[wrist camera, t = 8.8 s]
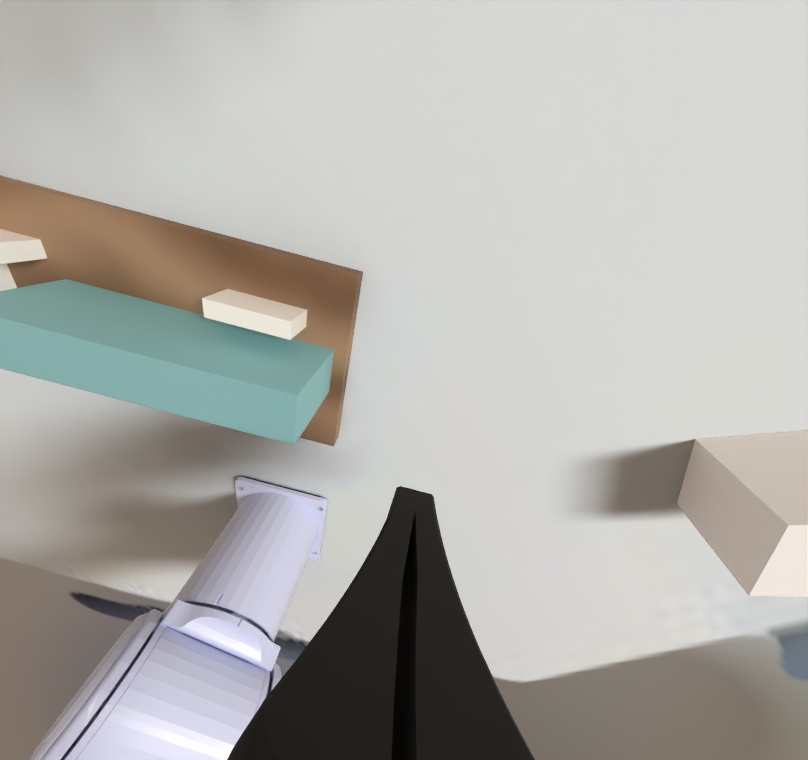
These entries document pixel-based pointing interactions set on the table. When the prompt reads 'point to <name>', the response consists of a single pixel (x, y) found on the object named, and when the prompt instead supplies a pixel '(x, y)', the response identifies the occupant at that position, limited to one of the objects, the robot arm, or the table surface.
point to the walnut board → (183, 271)
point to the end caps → (217, 306)
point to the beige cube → (753, 507)
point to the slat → (163, 358)
